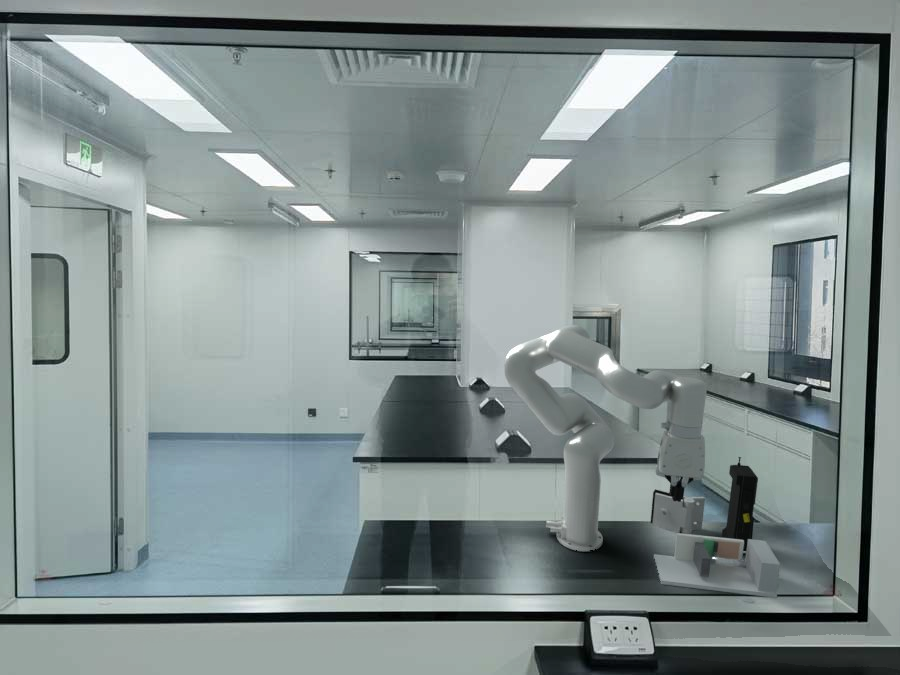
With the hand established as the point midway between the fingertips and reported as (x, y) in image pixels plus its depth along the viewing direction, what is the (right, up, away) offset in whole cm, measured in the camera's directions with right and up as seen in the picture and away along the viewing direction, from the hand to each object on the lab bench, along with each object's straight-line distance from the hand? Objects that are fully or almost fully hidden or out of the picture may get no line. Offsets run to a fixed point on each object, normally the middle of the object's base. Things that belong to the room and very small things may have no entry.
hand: (675, 498), depth 136 cm
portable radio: (+22, -18, +14) cm, 32 cm away
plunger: (+12, -18, +2) cm, 22 cm away
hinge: (+10, -16, +25) cm, 31 cm away
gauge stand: (+10, -20, +2) cm, 23 cm away
